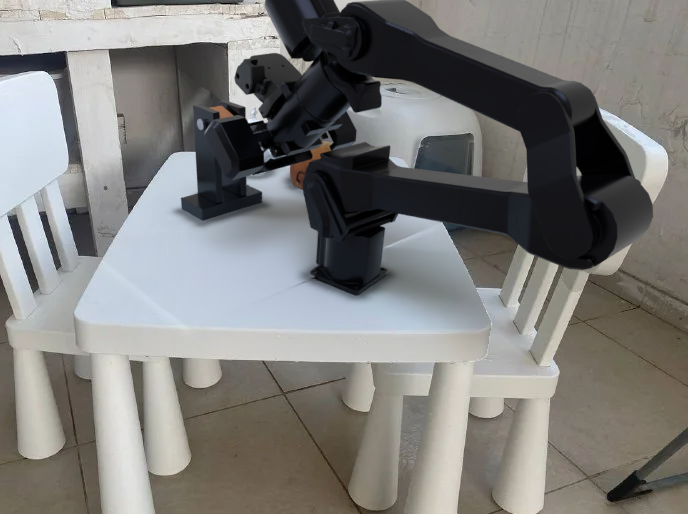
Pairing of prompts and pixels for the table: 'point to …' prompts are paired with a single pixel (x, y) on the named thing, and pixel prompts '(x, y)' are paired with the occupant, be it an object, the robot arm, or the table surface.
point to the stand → (216, 173)
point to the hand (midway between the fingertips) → (253, 171)
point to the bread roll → (306, 165)
